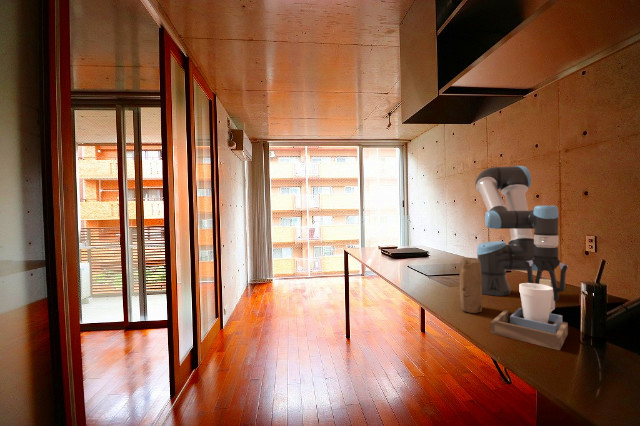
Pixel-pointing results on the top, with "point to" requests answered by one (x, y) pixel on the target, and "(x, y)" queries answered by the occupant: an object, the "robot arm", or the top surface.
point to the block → (470, 285)
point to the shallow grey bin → (528, 332)
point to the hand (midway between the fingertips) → (546, 307)
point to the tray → (535, 324)
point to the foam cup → (536, 301)
